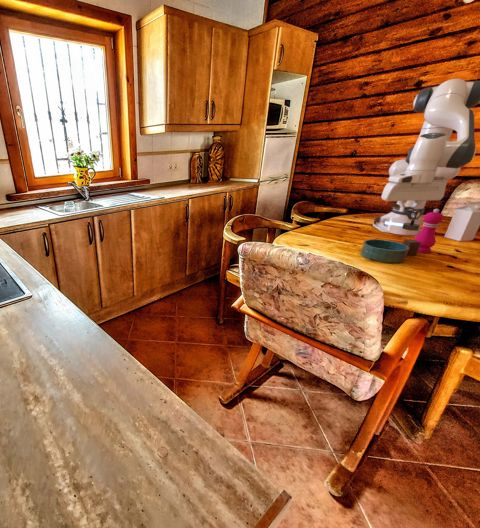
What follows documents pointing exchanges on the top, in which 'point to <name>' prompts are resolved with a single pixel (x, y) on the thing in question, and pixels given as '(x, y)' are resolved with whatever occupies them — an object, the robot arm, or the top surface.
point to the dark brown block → (412, 246)
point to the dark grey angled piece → (411, 225)
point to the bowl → (384, 251)
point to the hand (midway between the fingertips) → (406, 211)
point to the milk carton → (464, 222)
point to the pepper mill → (429, 231)
